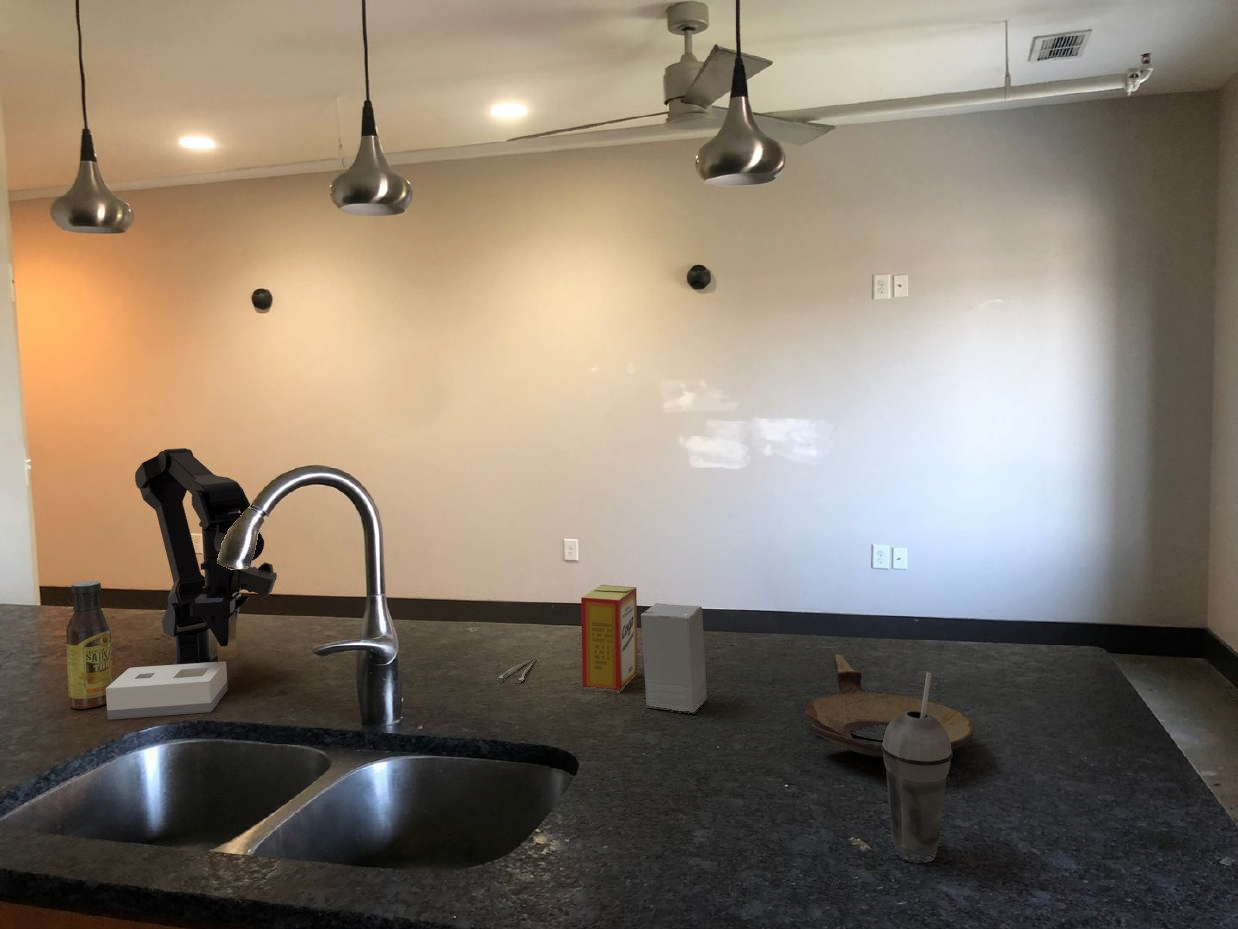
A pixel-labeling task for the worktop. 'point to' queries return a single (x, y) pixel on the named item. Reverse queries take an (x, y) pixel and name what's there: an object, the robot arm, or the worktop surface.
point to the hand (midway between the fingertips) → (226, 643)
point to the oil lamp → (873, 713)
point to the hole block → (166, 690)
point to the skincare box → (674, 657)
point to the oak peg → (229, 644)
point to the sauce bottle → (88, 648)
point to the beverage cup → (916, 777)
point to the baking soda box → (609, 636)
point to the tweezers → (516, 668)
